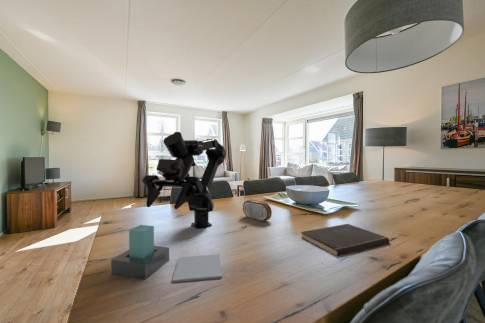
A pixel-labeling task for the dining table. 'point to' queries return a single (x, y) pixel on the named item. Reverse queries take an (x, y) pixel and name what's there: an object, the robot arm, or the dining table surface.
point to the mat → (197, 268)
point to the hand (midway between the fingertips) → (161, 207)
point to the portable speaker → (257, 210)
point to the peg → (141, 241)
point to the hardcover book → (344, 239)
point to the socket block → (139, 264)
